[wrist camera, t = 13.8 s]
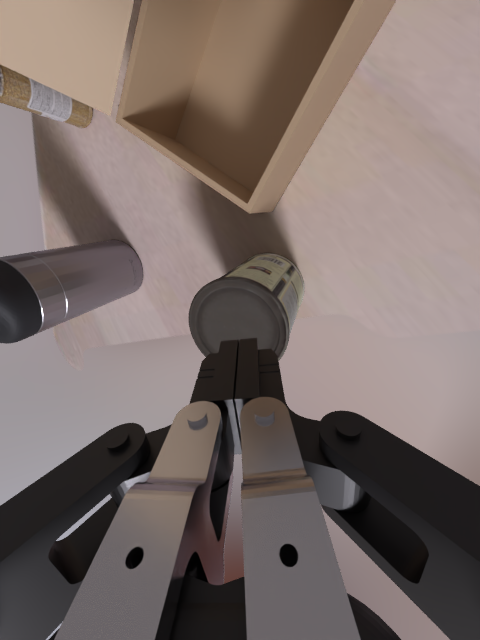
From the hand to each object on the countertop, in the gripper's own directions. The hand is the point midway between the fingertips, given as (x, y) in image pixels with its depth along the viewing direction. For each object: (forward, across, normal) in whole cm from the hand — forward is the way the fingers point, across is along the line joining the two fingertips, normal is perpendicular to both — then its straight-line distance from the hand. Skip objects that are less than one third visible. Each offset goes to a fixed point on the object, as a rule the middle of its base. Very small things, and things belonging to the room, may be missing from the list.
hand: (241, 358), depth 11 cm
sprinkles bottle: (+35, +21, -20) cm, 46 cm away
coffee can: (+27, -2, +6) cm, 27 cm away
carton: (+28, -3, -17) cm, 32 cm away
